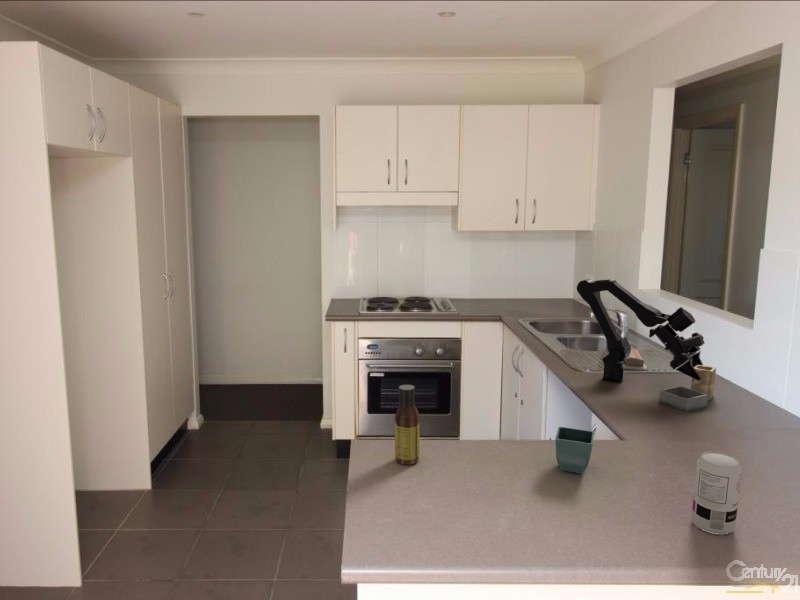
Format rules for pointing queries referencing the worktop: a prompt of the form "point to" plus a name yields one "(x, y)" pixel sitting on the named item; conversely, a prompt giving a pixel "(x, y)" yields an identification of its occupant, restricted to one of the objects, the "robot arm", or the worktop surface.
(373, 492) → the worktop surface
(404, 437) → the sauce bottle
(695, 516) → the supplement can
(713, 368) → the tall pine crate
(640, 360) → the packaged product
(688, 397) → the grey square tray
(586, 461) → the flower pot
